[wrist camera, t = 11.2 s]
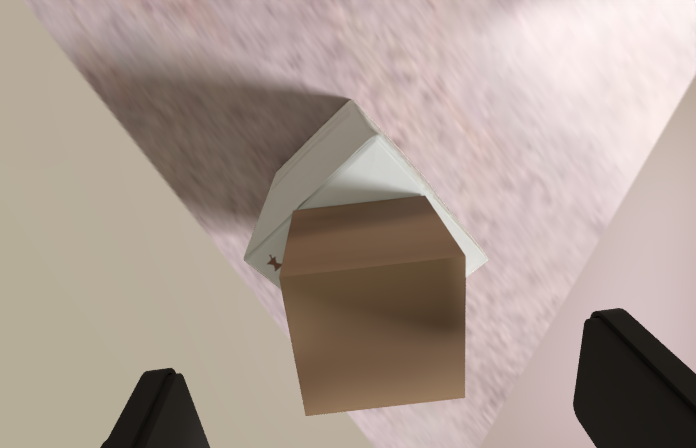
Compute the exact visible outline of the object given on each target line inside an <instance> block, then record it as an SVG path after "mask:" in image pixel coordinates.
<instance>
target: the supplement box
mask: <svg viewBox="0 0 696 448" xmlns="http://www.w3.org/2000/svg"><path fill="white" fill-rule="evenodd" d="M424 195H425V196H426V197H427V199H428V200H429V202H430V203H431V205H432V206H433V208H434V209H435V211H436V212H437V214H438V215H439V217H440V218H441V220H442V221H443V223H444V224H445V226H446V227H447V229H448V230H449V232H450V233H451V235H452V236H453V238H454V239H455V241H456V242H457V244H458V245H459V247H460V248H461V250H462V251H463V253H464V254H465V256H466V277H467V276H469V275H470V274H471V273H472V272H474V271H475V270H476V269H478V268H479V267H480V266H481V265H483V264H484V263H485V262H487V261H488V257H487V256H486V254H485V253H484V251H483V250H482V249H481V248H480V246H479V245H478V244H477V243H476V242H475V240H474V239H473V238H472V237H471V235H470V234H469V233H468V231H467V230H466V229H465V228H464V227H463V225H462V224H461V223H460V222H459V220H458V219H457V218H456V217H455V216H454V214H453V213H452V212H451V211H450V210H449V208H448V207H447V206H446V204H445V203H444V202H443V200H442V199H441V198H440V196H439V195H438V194H437V193H436V191H435V190H434V188H433V187H432V186H431V184H430V183H429V182H428V180H427V179H426V178H425V177H424V176H423V174H422V173H421V172H420V171H419V170H418V169H417V168H416V167H415V166H414V165H413V163H412V162H411V161H410V160H409V159H408V158H407V157H406V156H405V154H404V153H403V152H402V151H401V150H400V149H399V148H398V147H397V146H396V145H395V143H394V142H393V141H392V140H391V139H390V138H389V137H388V136H387V135H386V134H385V132H384V131H383V130H382V129H381V128H380V127H379V126H378V125H377V124H376V123H375V122H374V121H373V120H372V119H371V118H370V117H369V115H368V114H367V113H366V112H365V111H364V110H363V109H362V108H361V107H360V106H359V105H358V104H357V103H356V102H355V101H354V100H352V99H350V100H349V101H348V102H347V103H346V104H345V105H344V106H343V107H342V108H341V109H339V110H338V111H337V112H336V113H335V114H334V115H333V116H332V117H331V118H330V119H329V120H328V121H327V122H326V123H325V124H324V125H323V126H322V127H321V128H320V129H319V130H318V131H317V132H316V133H315V134H314V135H313V136H312V137H311V138H310V139H309V140H308V141H307V142H306V143H305V144H304V145H303V146H302V147H301V148H300V149H299V150H298V151H297V152H296V153H295V154H294V155H293V156H292V157H291V158H290V159H289V160H288V161H287V162H286V163H285V164H284V165H283V166H282V167H281V168H280V169H279V170H278V171H277V172H276V173H275V177H274V179H273V182H272V184H271V187H270V190H269V193H268V195H267V198H266V200H265V203H264V206H263V208H262V211H261V214H260V216H259V219H258V221H257V224H256V227H255V229H254V232H253V234H252V237H251V240H250V242H249V245H248V247H247V250H246V253H245V256H244V261H246V262H247V263H248V264H249V265H251V266H252V267H253V268H255V269H256V270H257V271H258V272H260V273H261V274H262V275H264V276H265V277H266V278H267V279H269V280H270V281H271V282H272V283H274V284H275V285H276V286H277V287H278V288H280V289H281V285H280V280H279V275H280V270H281V265H282V261H283V256H284V251H285V246H286V242H287V237H288V232H289V227H290V223H291V218H292V213H293V210H301V209H310V208H319V207H327V206H336V205H345V204H354V203H362V202H371V201H380V200H389V199H397V198H406V197H415V196H424Z"/></svg>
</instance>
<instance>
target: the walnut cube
mask: <svg viewBox="0 0 696 448" xmlns="http://www.w3.org/2000/svg"><path fill="white" fill-rule="evenodd" d="M279 280H280V285H281V291H282V296H283V301H284V306H285V311H286V316H287V321H288V327H289V332H290V337H291V342H292V347H293V352H294V358H295V363H296V368H297V373H298V378H299V383H300V389H301V394H302V399H303V404H304V409H305V414H306V416H309V415H319V414H328V413H337V412H345V411H354V410H363V409H371V408H380V407H389V406H397V405H406V404H415V403H423V402H432V401H441V400H449V399H458V398H465V296H466V256H465V254H464V253H463V251H462V250H461V248H460V247H459V245H458V244H457V242H456V241H455V239H454V238H453V236H452V235H451V233H450V232H449V230H448V229H447V227H446V226H445V224H444V223H443V221H442V220H441V218H440V217H439V215H438V214H437V212H436V211H435V209H434V208H433V206H432V205H431V203H430V202H429V200H428V199H427V197H426V196H425V195H424V196H415V197H406V198H397V199H389V200H380V201H371V202H362V203H354V204H345V205H336V206H327V207H319V208H310V209H301V210H293V213H292V218H291V223H290V227H289V232H288V237H287V242H286V246H285V251H284V256H283V261H282V265H281V270H280V275H279Z"/></svg>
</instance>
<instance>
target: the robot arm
mask: <svg viewBox="0 0 696 448" xmlns="http://www.w3.org/2000/svg"><path fill="white" fill-rule="evenodd" d="M573 407H574V411H575V414H576V417H577V418H578V420H579V422H580V423H581V425H582V426H583V428H584V429H585V431H586V432H587V434H588V435H589V437H590V438H591V440H592V441H593V443H594V444H595V446H596V447H597V448H696V374H695V373H694V372H693V371H692V370H691V369H690V368H689V367H687V366H686V365H685V364H684V363H683V362H682V361H681V360H680V359H679V358H677V357H676V356H675V355H674V354H673V353H672V352H671V351H670V350H668V349H667V348H666V347H665V346H664V345H663V344H662V343H661V342H660V341H659V340H658V339H657V338H655V337H654V336H653V335H652V334H651V333H650V332H649V331H648V330H646V329H645V328H644V327H643V326H642V325H641V324H640V323H639V322H638V321H637V320H635V319H634V318H633V317H632V316H631V315H630V314H629V313H628V312H627V311H625V310H624V309H620V308H617V309H609V310H601V311H595V312H593V313H592V314H591V317H590V319H587V320H586V321H585V323H584V329H583V336H582V344H581V350H580V358H579V365H578V372H577V379H576V386H575V394H574V401H573ZM100 448H210V446H209V444H208V441H207V438H206V435H205V434H204V430H203V427H202V425H201V422H200V420H199V417H198V414H197V411H196V409H195V406H194V403H193V401H192V398H191V396H190V393H189V390H188V387H187V385H186V382H185V379H184V377H183V375H182V374H181V373H179V374H176V372H175V370H174V369H172V368H167V369H159V370H152V371H146V372H144V373H143V375H142V376H141V378H140V380H139V382H138V383H137V385H136V387H135V389H134V391H133V393H132V395H131V397H130V398H129V400H128V402H127V404H126V406H125V408H124V410H123V411H122V413H121V415H120V417H119V419H118V421H117V423H116V425H115V427H114V428H113V430H112V432H111V434H110V436H109V438H108V439H107V440H106V441H105V442H104V443H103V444H102V446H101V447H100Z"/></svg>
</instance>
